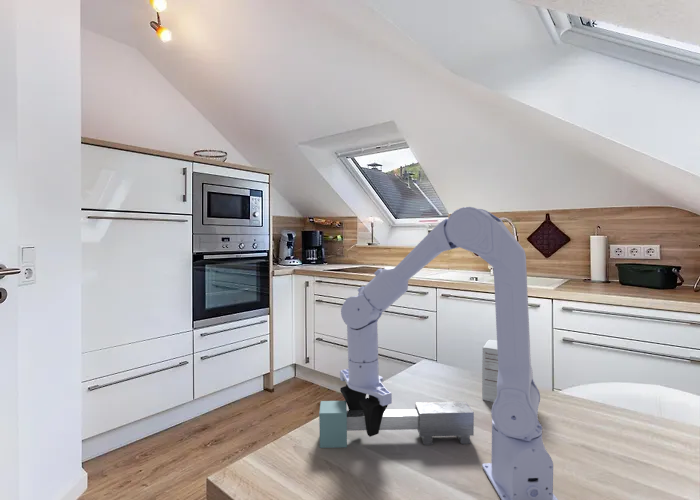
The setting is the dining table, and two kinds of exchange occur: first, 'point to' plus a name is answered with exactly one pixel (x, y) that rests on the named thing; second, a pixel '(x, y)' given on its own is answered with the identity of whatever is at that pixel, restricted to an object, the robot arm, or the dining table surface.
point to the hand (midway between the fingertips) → (365, 428)
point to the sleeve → (445, 420)
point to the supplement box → (490, 371)
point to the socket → (333, 424)
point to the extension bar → (385, 420)
